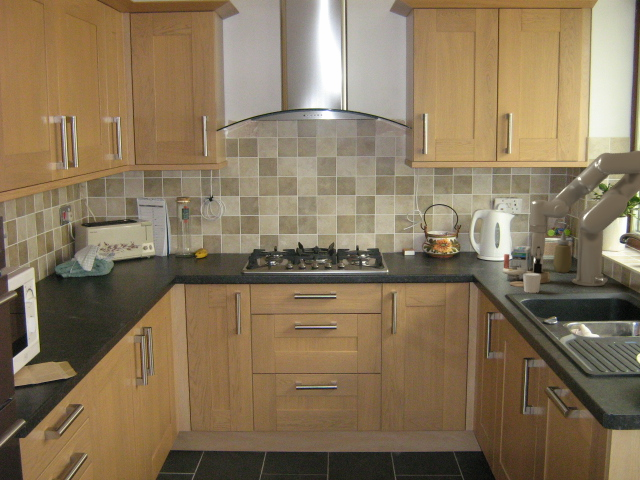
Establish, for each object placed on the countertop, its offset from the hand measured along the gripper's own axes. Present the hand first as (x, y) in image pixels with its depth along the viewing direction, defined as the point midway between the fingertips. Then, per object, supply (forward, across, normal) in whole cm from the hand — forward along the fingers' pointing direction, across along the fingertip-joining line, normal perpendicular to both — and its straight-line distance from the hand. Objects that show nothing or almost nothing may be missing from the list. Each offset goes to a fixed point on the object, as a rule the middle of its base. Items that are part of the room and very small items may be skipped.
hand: (537, 271), depth 306 cm
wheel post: (+4, 0, -10) cm, 11 cm away
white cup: (+5, +20, -2) cm, 21 cm away
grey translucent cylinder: (+4, 0, 0) cm, 4 cm away
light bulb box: (+5, -24, -7) cm, 25 cm away
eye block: (+4, 0, 0) cm, 4 cm away
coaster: (+4, +9, -6) cm, 12 cm away
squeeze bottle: (+5, -25, +11) cm, 27 cm away
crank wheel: (+1, 0, -10) cm, 10 cm away
